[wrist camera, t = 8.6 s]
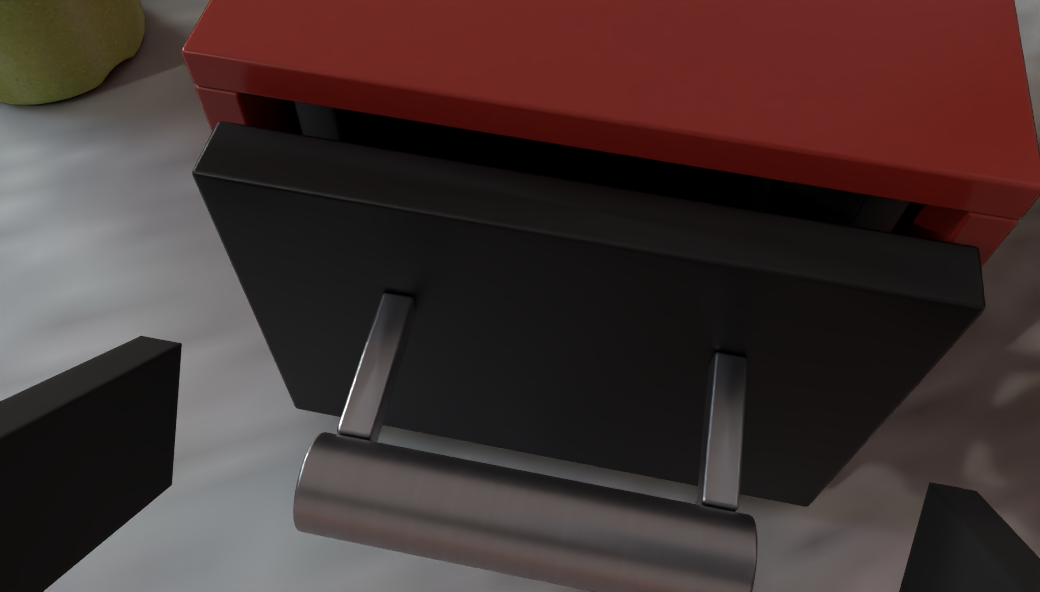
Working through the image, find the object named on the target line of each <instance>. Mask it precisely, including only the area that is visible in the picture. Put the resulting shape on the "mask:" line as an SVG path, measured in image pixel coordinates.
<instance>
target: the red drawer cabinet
mask: <svg viewBox="0 0 1040 592" xmlns="http://www.w3.org/2000/svg"><path fill="white" fill-rule="evenodd" d="M182 55H183V58H184V60H185V63H186V66H187V68H188V71H189V73H190V76H191V78H192V81H193V83H194V84H195V85H196V87H195V89H196V92H197V95H198V97H199V100H200V102H201V105H202V107H203V110H204V113H205V115H206V118H207V120H208V123H209V125H210V128H211V130H212V132H213V130H214V128H215V126H216V124H217V123H218V122H220V121H224V122H230V123H236V124H242V125H248V126H254V127H260V128H266V129H272V130H278V131H284V132H290V133H296V134H302V133H301V129H300V125H299V121H298V118H297V114H296V110H295V106H294V103H293V101H294V102H300V103H306V104H312V105H318V106H325V107H331V108H337V109H343V110H349V111H355V112H361V113H367V114H374V115H380V116H386V117H392V118H398V119H404V120H410V121H417V122H423V123H429V124H435V125H441V126H447V127H453V128H459V129H466V130H472V131H478V132H484V133H490V134H496V135H502V136H509V137H515V138H521V139H527V140H533V141H539V142H545V143H551V144H558V145H564V146H570V147H576V148H582V149H588V150H594V151H601V152H607V153H613V154H619V155H625V156H631V157H637V158H643V159H650V160H656V161H662V162H668V163H674V164H680V165H686V166H693V167H699V168H705V169H711V170H717V171H723V172H729V173H736V174H742V175H748V176H754V177H760V178H766V179H772V180H778V181H785V182H791V183H797V184H803V185H809V186H815V187H821V188H828V189H834V190H840V191H846V192H852V193H858V194H864V195H870V196H877V197H883V198H889V199H895V200H901V201H907V202H910V204H909V205H908V207H907V208H906V210H905V211H904V213H903V215H902V216H901V218H900V219H899V221H898V222H897V224H896V226H895V227H894V229H893V230H892V233H898V234H904V235H910V236H916V237H922V238H928V239H934V240H940V241H946V242H952V243H958V244H964V245H970V246H975V247H977V248H978V249H979V251H980V260H981V267H982V266H983V264H984V263H985V262H986V261H987V259H988V258H989V257H990V256H991V255H992V253H993V252H994V251H995V250H996V249H997V247H998V246H999V245H1000V244H1001V243H1002V241H1003V240H1004V239H1005V238H1006V236H1007V235H1008V234H1009V233H1010V232H1011V230H1012V229H1013V228H1014V227H1015V226H1016V224H1017V223H1018V219H1020V218H1022V217H1023V216H1024V215H1025V213H1026V212H1027V211H1028V210H1029V209H1030V207H1031V206H1032V205H1033V204H1034V202H1035V201H1036V200H1037V199H1038V198H1039V196H1040V152H1039V146H1038V140H1037V134H1036V128H1035V122H1034V116H1033V110H1032V104H1031V98H1030V92H1029V86H1028V80H1027V74H1026V68H1025V62H1024V56H1023V50H1022V44H1021V38H1020V32H1019V26H1018V20H1017V14H1016V8H1015V2H1014V0H210V2H209V4H208V5H207V7H206V9H205V10H204V12H203V14H202V15H201V17H200V19H199V21H198V22H197V24H196V26H195V27H194V29H193V31H192V33H191V34H190V36H189V38H188V39H187V41H186V43H185V44H184V46H183V48H182Z"/></svg>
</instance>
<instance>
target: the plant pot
mask: <svg viewBox="0 0 1040 592" xmlns="http://www.w3.org/2000/svg"><path fill="white" fill-rule="evenodd" d="M144 32H145V16H144V12H143V9H142V5H141V1H140V0H0V102H2V103H8V104H19V105H32V104H42V103H49V102H54V101H59V100H63V99H67V98H71V97H74V96H77V95H79V94H82V93H85V92H87V91H89V90H91V89H94V88H95V87H97V86H99V85H100V84H101V83H102V82H103V81H104V79H105V78H106V76H107V75H108V74H109V72H110V71H111V70H112V69H113V68H114V67H115V66H116V65H117V64H119V63H120V62H122V61H123V60H125V59H128V58H131V57H133V56H134V55H135V54H136V52H137V51H138V49H139V47H140V45H141V42H142V40H143V37H144Z"/></svg>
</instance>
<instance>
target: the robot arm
mask: <svg viewBox="0 0 1040 592" xmlns="http://www.w3.org/2000/svg"><path fill="white" fill-rule="evenodd" d="M181 347H182V343H176V342H171V341H166V340H160V339H155V338H149V337H144V336H140V337H138V338H136V339H134V340H131V341H129V342H127V343H125V344H123V345H121V346H119V347H116V348H114V349H112V350H110V351H108V352H106V353H103V354H101V355H99V356H97V357H95V358H93V359H91V360H88V361H86V362H84V363H82V364H80V365H78V366H76V367H73V368H71V369H69V370H67V371H65V372H63V373H60V374H58V375H56V376H54V377H52V378H50V379H48V380H45V381H43V382H41V383H39V384H37V385H35V386H33V387H30V388H28V389H26V390H24V391H22V392H20V393H18V394H15V395H13V396H11V397H9V398H7V399H5V400H2V401H0V592H43V591H44V590H45V589H47V588H48V587H49V586H50V585H51V584H53V583H54V582H55V581H56V580H58V579H59V578H60V577H61V576H62V575H64V574H65V573H66V572H67V571H68V570H70V569H71V568H72V567H73V566H74V565H76V564H77V563H78V562H79V561H80V560H82V559H83V558H84V557H85V556H86V555H88V554H89V553H90V552H91V551H93V550H94V549H95V548H96V547H97V546H99V545H100V544H101V543H102V542H103V541H105V540H106V539H107V538H108V537H109V536H111V535H112V534H113V533H114V532H115V531H117V530H118V529H119V528H120V527H122V526H123V525H124V524H125V523H126V522H128V521H129V520H130V519H131V518H132V517H134V516H135V515H136V514H137V513H138V512H140V511H141V510H142V509H143V508H144V507H146V506H147V505H148V504H149V503H151V502H152V501H153V500H154V499H155V498H157V497H158V496H159V495H160V494H161V493H163V492H164V491H165V490H166V489H167V488H169V487H170V486H171V485H172V475H173V460H174V446H175V432H176V418H177V404H178V390H179V376H180V361H181ZM899 592H1040V558H1039V557H1038V556H1037V555H1036V554H1035V553H1034V552H1033V551H1032V550H1031V549H1030V548H1029V547H1028V545H1027V544H1026V543H1025V542H1024V541H1023V540H1022V539H1021V538H1020V537H1019V536H1018V535H1017V534H1016V533H1015V532H1014V531H1013V529H1012V528H1011V527H1010V526H1009V525H1008V524H1007V523H1006V522H1005V521H1004V520H1003V519H1002V518H1001V517H1000V516H999V515H998V513H997V512H996V511H995V510H994V509H993V508H992V507H991V506H990V505H989V504H988V503H987V502H986V501H985V500H984V499H983V497H982V496H981V495H980V494H979V493H978V492H977V491H974V490H969V489H963V488H958V487H953V486H947V485H942V484H936V483H931V482H929V486H928V490H927V493H926V497H925V500H924V504H923V508H922V511H921V515H920V518H919V522H918V526H917V529H916V533H915V537H914V540H913V544H912V547H911V551H910V555H909V558H908V562H907V565H906V569H905V573H904V576H903V580H902V583H901V587H900V591H899Z"/></svg>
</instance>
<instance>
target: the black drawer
mask: <svg viewBox="0 0 1040 592" xmlns="http://www.w3.org/2000/svg"><path fill="white" fill-rule="evenodd" d="M293 103H294V106H295V110H296V114H297V118H298V121H299V125H300V129H301V133H302V134H296V133H290V132H284V131H278V130H272V129H266V128H260V127H254V126H248V125H242V124H236V123H230V122H224V121H220V122H218V123H217V124H216V126H215V128H214V130H213V132H212V134H211V136H210V138H209V139H208V141H207V143H206V145H205V147H204V149H203V151H202V153H201V155H200V157H199V159H198V161H197V162H196V164H195V166H194V168H193V171H192V175H193V177H194V180H195V182H196V184H197V186H198V189H199V191H200V193H201V195H202V198H203V200H204V202H205V204H206V207H207V209H208V211H209V213H210V216H211V218H212V220H213V222H214V225H215V227H216V229H217V231H218V234H219V236H220V238H221V240H222V243H223V245H224V247H225V249H226V252H227V254H228V256H229V258H230V261H231V263H232V265H233V267H234V270H235V272H236V274H237V276H238V279H239V281H240V283H241V285H242V288H243V290H244V292H245V294H246V297H247V299H248V301H249V303H250V306H251V308H252V310H253V312H254V315H255V317H256V319H257V322H258V324H259V326H260V328H261V331H262V333H263V335H264V337H265V340H266V342H267V344H268V346H269V349H270V351H271V353H272V355H273V358H274V360H275V362H276V364H277V367H278V369H279V371H280V373H281V376H282V378H283V380H284V382H285V385H286V387H287V389H288V391H289V394H290V396H291V398H292V400H293V403H294V405H295V407H296V408H298V409H303V410H308V411H313V412H318V413H323V414H328V415H334V416H339V417H341V418H340V421H339V424H338V427H337V431H338V434H339V435H337V434H332V433H327V432H323V433H320V434H319V435H317V436H316V438H315V439H314V440H313V442H312V444H311V445H310V447H309V449H308V451H307V453H306V456H305V458H304V461H303V463H302V467H301V470H300V473H299V477H298V481H297V485H296V490H295V497H294V509H293V514H294V523H295V526H296V528H297V529H298V530H299V531H301V532H305V533H310V534H315V535H320V536H324V537H329V538H334V539H339V540H344V541H349V542H354V543H359V544H363V545H368V546H373V547H378V548H383V549H388V550H393V551H397V552H402V553H407V554H412V555H417V556H422V557H427V558H432V559H436V560H441V561H446V562H451V563H456V564H461V565H466V566H471V567H475V568H480V569H485V570H490V571H495V572H500V573H505V574H510V575H514V576H519V577H524V578H529V579H534V580H539V581H544V582H549V583H553V584H558V585H563V586H568V587H573V588H578V589H583V590H588V591H592V592H752V590H753V585H754V580H755V573H756V564H757V548H758V541H757V529H756V524H755V521H754V519H753V517H752V516H750V515H747V514H742V513H737V512H736V511H737V509H738V507H739V499H740V494H743V495H748V496H753V497H758V498H763V499H768V500H774V501H779V502H784V503H789V504H794V505H800V506H805V507H807V506H809V505H810V504H811V503H812V502H813V501H814V499H815V498H816V497H817V496H818V495H819V494H820V493H821V492H822V490H823V489H824V488H825V487H826V486H827V485H828V484H829V483H830V482H831V480H832V479H833V478H834V477H835V476H836V475H837V474H838V473H839V472H840V470H841V469H842V468H843V467H844V466H845V465H846V464H847V463H848V462H849V460H850V459H851V458H852V457H853V456H854V455H855V454H856V453H857V452H858V450H859V449H860V448H861V447H862V446H863V445H864V444H865V443H866V442H867V440H868V439H869V438H870V437H871V436H872V435H873V434H874V433H875V432H876V430H877V429H878V428H879V427H880V426H881V425H882V424H883V423H884V422H885V420H886V419H887V418H888V417H889V416H890V415H891V414H892V413H893V412H894V410H895V409H896V408H897V407H898V406H899V405H900V404H901V403H902V401H903V400H904V399H905V398H906V397H907V396H908V395H909V394H910V393H911V391H912V390H913V389H914V388H915V387H916V386H917V385H918V384H919V383H920V381H921V380H922V379H923V378H924V377H925V376H926V375H927V374H928V373H929V371H930V370H931V369H932V368H933V367H934V366H935V365H936V364H937V363H938V361H939V360H940V359H941V358H942V357H943V356H944V355H945V354H946V353H947V351H948V350H949V349H950V348H951V347H952V346H953V345H954V344H955V343H956V341H957V340H958V339H959V338H960V337H961V336H962V335H963V334H964V333H965V331H966V330H967V329H968V328H969V327H970V326H971V325H972V324H973V323H974V321H975V320H976V319H977V318H978V317H979V316H980V315H981V314H982V312H983V311H984V309H985V297H984V288H983V279H982V269H981V260H980V251H979V249H978V248H977V247H975V246H970V245H964V244H958V243H952V242H946V241H940V240H934V239H928V238H922V237H916V236H910V235H904V234H898V233H892V230H893V229H894V227H895V226H896V224H897V222H898V221H899V219H900V218H901V216H902V215H903V213H904V211H905V210H906V208H907V207H908V205H909V204H910V202H907V201H901V200H895V199H889V198H883V197H877V196H870V195H864V194H858V193H852V192H846V191H840V190H834V189H828V188H821V187H815V186H809V185H803V184H797V183H791V182H785V181H778V180H772V179H766V178H760V177H754V176H748V175H742V174H736V173H729V172H723V171H717V170H711V169H705V168H699V167H693V166H686V165H680V164H674V163H668V162H662V161H656V160H650V159H643V158H637V157H631V156H625V155H619V154H613V153H607V152H601V151H594V150H588V149H582V148H576V147H570V146H564V145H558V144H551V143H545V142H539V141H533V140H527V139H521V138H515V137H509V136H502V135H496V134H490V133H484V132H478V131H472V130H466V129H459V128H453V127H447V126H441V125H435V124H429V123H423V122H417V121H410V120H404V119H398V118H392V117H386V116H380V115H374V114H367V113H361V112H355V111H349V110H343V109H337V108H331V107H325V106H318V105H312V104H306V103H300V102H294V101H293ZM382 425H385V426H391V427H396V428H401V429H406V430H411V431H416V432H422V433H427V434H432V435H437V436H442V437H448V438H453V439H458V440H463V441H468V442H473V443H479V444H484V445H489V446H494V447H499V448H504V449H510V450H515V451H520V452H525V453H530V454H536V455H541V456H546V457H551V458H556V459H561V460H567V461H572V462H577V463H582V464H587V465H592V466H598V467H603V468H608V469H613V470H618V471H624V472H629V473H634V474H639V475H644V476H649V477H655V478H660V479H665V480H670V481H675V482H680V483H686V484H691V485H696V486H698V489H697V500H696V504H691V503H686V502H681V501H676V500H670V499H665V498H660V497H655V496H650V495H645V494H640V493H635V492H629V491H624V490H619V489H614V488H609V487H604V486H599V485H594V484H588V483H583V482H578V481H573V480H568V479H563V478H558V477H552V476H547V475H542V474H537V473H532V472H527V471H522V470H517V469H511V468H506V467H501V466H496V465H491V464H486V463H481V462H476V461H470V460H465V459H460V458H455V457H450V456H445V455H440V454H435V453H429V452H424V451H419V450H414V449H409V448H404V447H399V446H393V445H388V444H383V443H378V442H377V440H378V437H379V433H380V430H381V427H382Z"/></svg>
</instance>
